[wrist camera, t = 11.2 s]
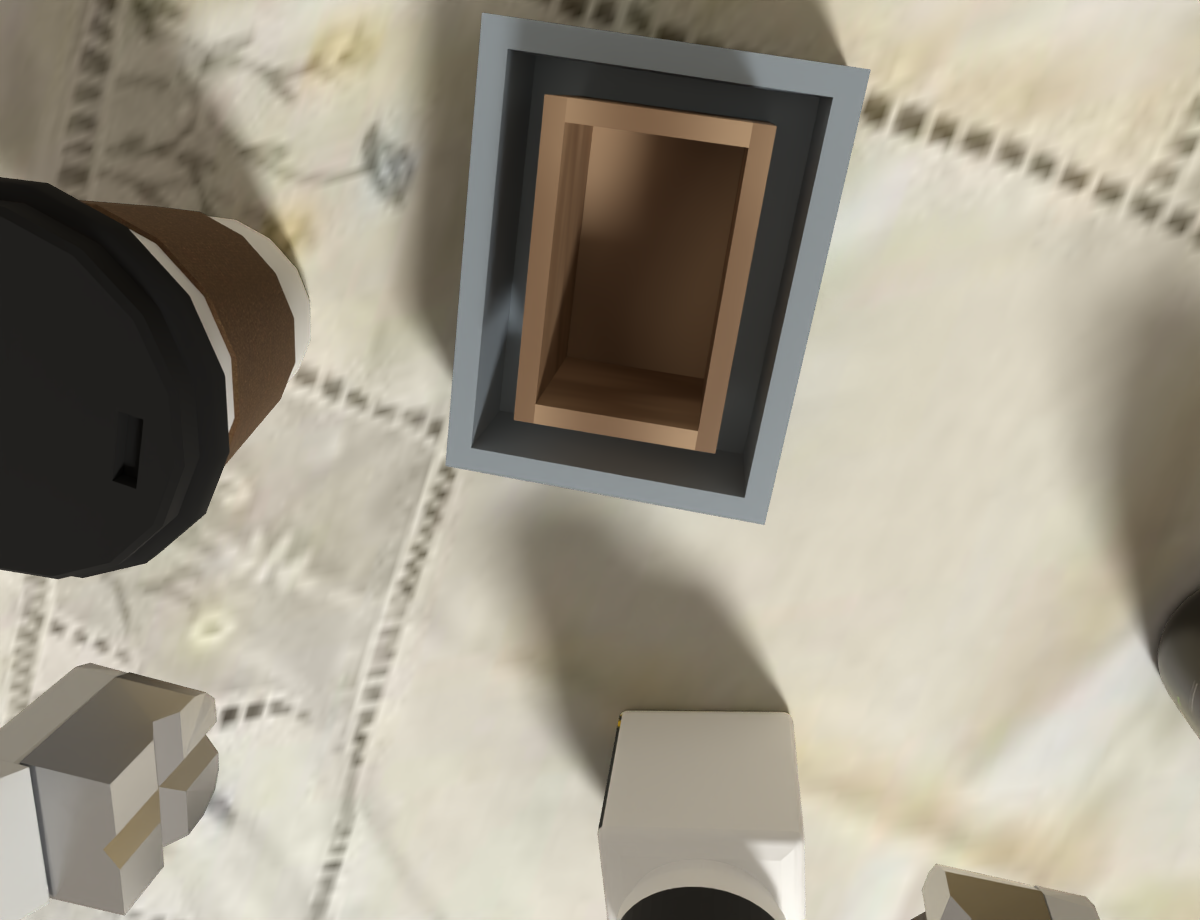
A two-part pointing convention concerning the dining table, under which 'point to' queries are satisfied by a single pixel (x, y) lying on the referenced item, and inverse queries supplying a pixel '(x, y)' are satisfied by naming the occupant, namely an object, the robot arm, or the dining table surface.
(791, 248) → the grey crate
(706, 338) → the walnut crate
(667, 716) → the medicine bottle
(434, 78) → the dining table surface
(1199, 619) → the supplement bottle
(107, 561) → the coffee cup
